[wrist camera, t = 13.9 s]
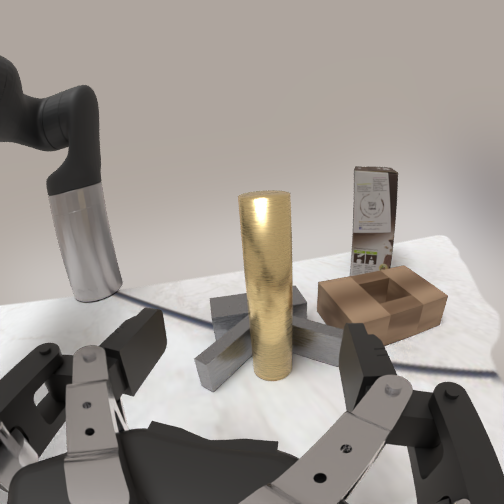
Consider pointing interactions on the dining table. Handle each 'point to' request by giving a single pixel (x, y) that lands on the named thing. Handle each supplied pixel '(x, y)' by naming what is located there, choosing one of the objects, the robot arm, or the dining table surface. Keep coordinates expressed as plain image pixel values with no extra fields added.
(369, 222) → the coffee box
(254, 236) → the axle
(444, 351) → the dining table surface
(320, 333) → the v block
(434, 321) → the hollow rectangular block
